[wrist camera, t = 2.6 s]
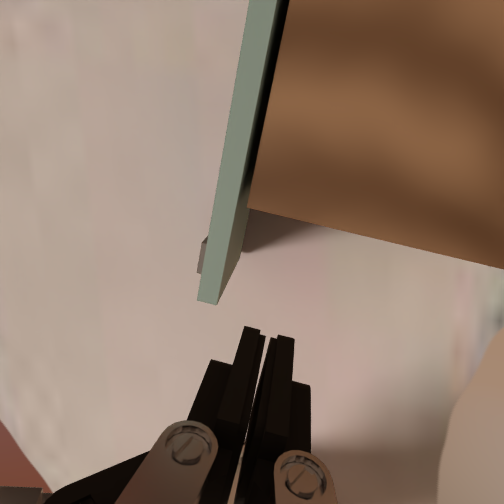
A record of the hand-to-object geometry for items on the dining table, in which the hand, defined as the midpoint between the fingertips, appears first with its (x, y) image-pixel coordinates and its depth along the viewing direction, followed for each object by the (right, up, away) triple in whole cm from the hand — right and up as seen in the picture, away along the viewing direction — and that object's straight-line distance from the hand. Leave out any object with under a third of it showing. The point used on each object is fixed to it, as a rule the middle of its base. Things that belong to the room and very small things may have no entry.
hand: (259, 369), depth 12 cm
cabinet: (+9, +14, +12) cm, 21 cm away
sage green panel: (0, +14, +13) cm, 19 cm away
